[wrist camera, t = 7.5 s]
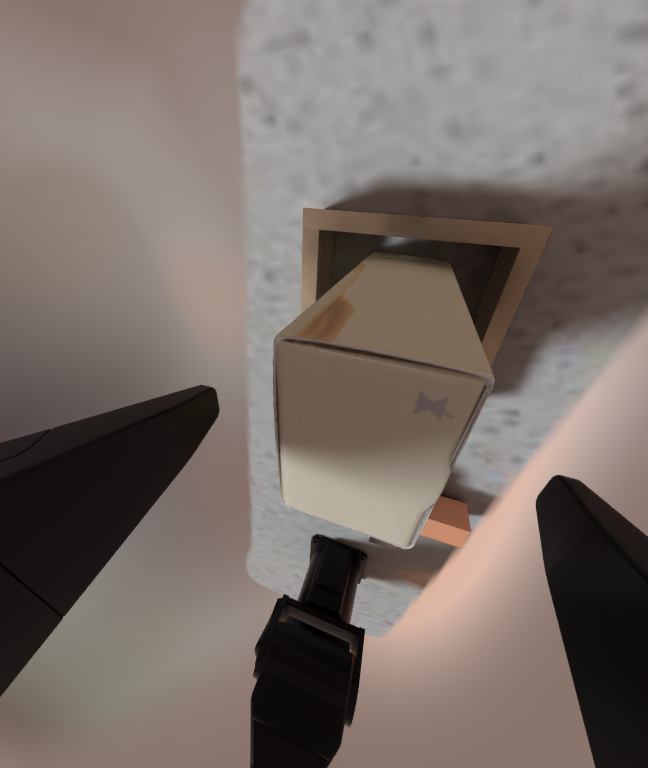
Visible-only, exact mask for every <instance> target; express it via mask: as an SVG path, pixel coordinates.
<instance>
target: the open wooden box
mask: <svg viewBox="0 0 648 768" xmlns="http://www.w3.org/2000/svg"><path fill="white" fill-rule="evenodd" d="M553 228H554V226H545V225H532V224H518V223H505V222H491V221H477V220H464V219H450V218H436V217H423V216H409V215H395V214H382V213H368V212H354V211H341V210H327V209H313V208H303V248H302V307H301V314H302V313H303V312H305V311H306V310H307V309H308V308H309V307H310V306H312V305H313V304H314V303H315V302H316V301H317V300H319V299H320V298H321V297H322V296H323V295H324V294H325V293H326V292H328V291H329V290H330V289H331V288H332V279H333V265H334V252H335V238H336V231H341V232H351V233H362V234H373V235H384V236H395V237H406V238H417V239H428V240H439V241H450V242H461V243H472V244H483V245H494V246H502V247H501V249H500V252H499V255H498V258H497V260H496V263H495V266H494V268H493V271H492V274H491V276H490V279H489V282H488V285H487V287H486V290H485V293H484V295H483V298H482V301H481V303H480V306H479V309H478V312H477V314H476V317H475V320H474V322H473V324H474V326H475V329H476V331H477V334H478V336H479V339H480V342H481V344H482V347H483V350H484V352H485V355H486V357H487V359H488V362H489V364H490V367H491V366H492V364H493V362H494V360H495V357H496V355H497V353H498V351H499V348H500V346H501V344H502V342H503V339H504V337H505V335H506V333H507V330H508V328H509V326H510V324H511V321H512V319H513V317H514V315H515V313H516V310H517V308H518V306H519V304H520V301H521V299H522V297H523V295H524V292H525V290H526V288H527V286H528V283H529V281H530V279H531V277H532V275H533V272H534V270H535V268H536V266H537V263H538V261H539V259H540V257H541V254H542V252H543V250H544V248H545V245H546V243H547V241H548V239H549V237H550V234H551V232H552V230H553Z"/></svg>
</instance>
